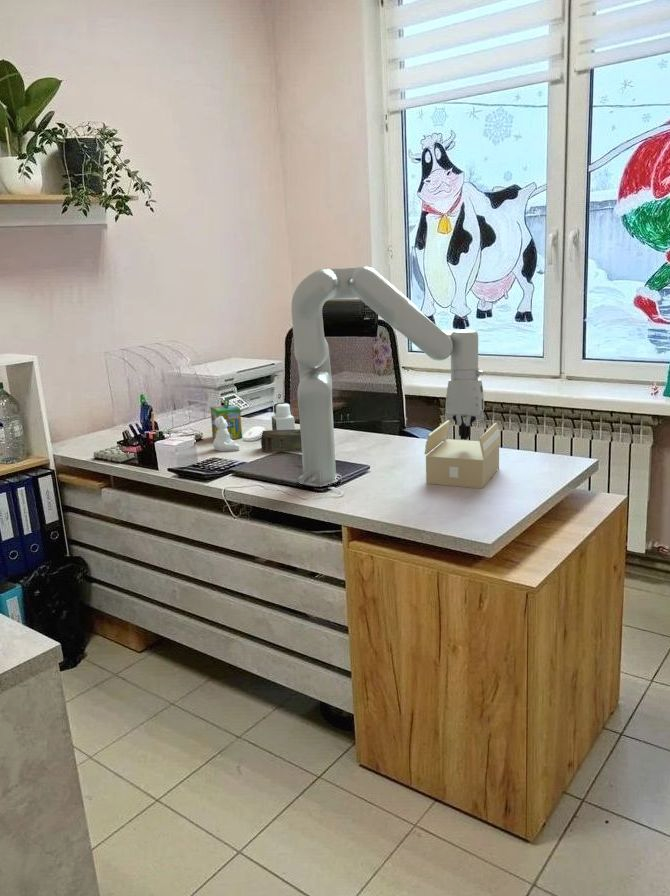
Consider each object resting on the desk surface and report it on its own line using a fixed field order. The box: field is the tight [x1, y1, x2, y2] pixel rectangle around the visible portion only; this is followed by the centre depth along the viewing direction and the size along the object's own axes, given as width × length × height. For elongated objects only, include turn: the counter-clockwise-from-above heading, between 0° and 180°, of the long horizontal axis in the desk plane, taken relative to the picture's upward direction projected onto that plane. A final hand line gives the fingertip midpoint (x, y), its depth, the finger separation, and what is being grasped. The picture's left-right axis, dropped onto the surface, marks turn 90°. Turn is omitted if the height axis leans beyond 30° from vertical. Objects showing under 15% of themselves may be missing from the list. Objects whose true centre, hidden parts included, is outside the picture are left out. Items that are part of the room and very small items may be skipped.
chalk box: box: [210, 397, 243, 440], centre depth 268 cm, size 9×9×15 cm
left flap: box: [424, 419, 450, 456], centre depth 210 cm, size 19×6×1 cm
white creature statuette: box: [212, 416, 240, 452], centre depth 251 cm, size 10×9×12 cm
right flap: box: [478, 422, 501, 459], centre depth 203 cm, size 19×6×1 cm
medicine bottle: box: [271, 402, 296, 430], centre depth 268 cm, size 7×7×12 cm
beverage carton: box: [260, 428, 302, 453], centre depth 249 cm, size 8×19×7 cm, turn 92°
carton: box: [425, 438, 500, 489], centre depth 208 cm, size 20×16×8 cm
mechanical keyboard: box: [92, 429, 204, 466], centre depth 258 cm, size 38×19×3 cm, turn 147°
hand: (464, 438), depth 206 cm, fingers closed
